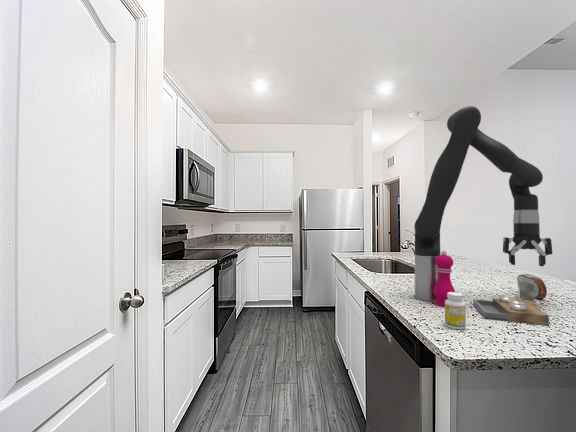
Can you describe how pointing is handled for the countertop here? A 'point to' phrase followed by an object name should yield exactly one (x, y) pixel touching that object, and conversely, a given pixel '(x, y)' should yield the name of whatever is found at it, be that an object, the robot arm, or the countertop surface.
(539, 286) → the tin
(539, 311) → the walnut board
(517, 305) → the disc
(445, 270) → the pepper mill
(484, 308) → the tray
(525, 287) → the scraper
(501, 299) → the disc
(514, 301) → the disc
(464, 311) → the supplement bottle
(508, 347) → the countertop surface
